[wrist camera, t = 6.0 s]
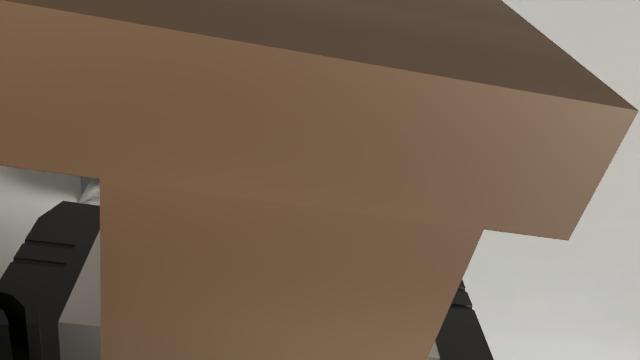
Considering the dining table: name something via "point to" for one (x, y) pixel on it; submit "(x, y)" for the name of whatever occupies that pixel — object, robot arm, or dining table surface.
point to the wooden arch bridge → (299, 160)
